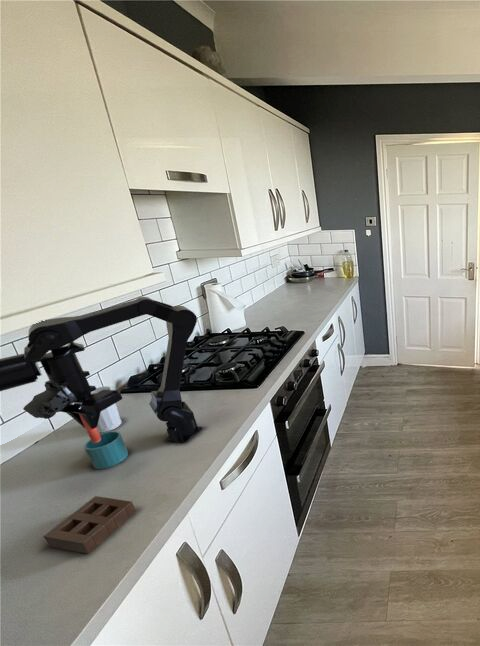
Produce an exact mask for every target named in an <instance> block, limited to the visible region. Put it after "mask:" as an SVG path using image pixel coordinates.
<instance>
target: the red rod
mask: <svg viewBox="0 0 480 646" xmlns="http://www.w3.org/2000/svg"><path fill="white" fill-rule="evenodd" d="M79 416H80V418H81V420H82V422H83V424H84V426H85V428H84V429H85V430H86V433H87V434H88V435H87V436H88V438H89V440H91V441H92V442H93V443H98V442H100V441H101V436H100V434H101V433H99V432H98V430H97V428H94V429H91V428H90V426H89V425H88V424H87V422H86V421H85V419H84V418H83V416H82V415H81V414H79Z"/></svg>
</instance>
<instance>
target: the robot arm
mask: <svg viewBox="0 0 480 646" xmlns="http://www.w3.org/2000/svg"><path fill="white" fill-rule="evenodd" d="M145 315H147V316H149V317H150V316H151V317H154V318H157V319H158V320H161V321H164V322H165V325H166V331H167V336H168V339H167V346H166V352H165V359H164V365H163V372H162V377H161V384H160V387H159V388H158V390H151V393H150V394H151V396H150V397H151V398H150V401H149V403H148V404H149V406H150V408H151V410H152V411H153V413H154V414H155V416H156V418H157V419H158V420H159V421H160V422H163V423H164V422H165V425H166V433H167V435H168V437H167V438H166V440H167V442H168V441H169V442H176V443H177V442H178V443H187V442H188V441H190V440H191V439H192V438H194V437H195V436H196V435H197V434H198V433H200V432H201V431H202V430H203V427H202V426H198V424H197V420H196V418H195V414H194V412H193V410H192V409H191V408H190V406H189V405H188V404H187V403H186V401H183V400H182V395H181V388H180V387H181V382H182V375H183V371H184V364H185V363H184V362H185V357H186V350H187V345H188V340H189V339H190V337H191V336H192V334H193V333H194V331H195V328H196V325H197V322H198V316H197V315H196V314H195V312H194V311H192V310H191V309H189V308H188V307H186V306H184V305H171V304H168V303H166V302H162V301H158V300H155V299H152V298H150V297H148V296H140V297H137V298H136V299H133V300H129V301H126V302H123V303H118V304H115V305H112V306H108V307H105V308H101V309H98V310H94V311H92V312H88V313H85V314H82V315H74V316H61V317H56V318H48V319H42V320H40V321H41V322H39V321H38V322H39V323H36V322H35V323H36V324H34V323H32V324H31V326H30V327H29V329H28V335H27V337H28V338H27V339H28V343H27V345H26V346H25V347H24V350H23V353H20V354H16V355H11V356H7V357H2V358H0V392H4V391H8V390H11V389H14V388H17V387H22V386H26V385H29V384H32V383H35V382H37V381H38V379H39V378H38V377H40V376H41V377H42V375H43V374H42V371H41V368H40V366H39V364H38V363H40V364H41V366H42V368H43V371H44V372H45V374H46V376H47V378H48V380H47V381H45V382H44V387H45V388H44V389H45V390H44V391H42V392H40V393H37V394H35V395H34V396H33V398H32V399H31V400H30V401H29V402H28V403H27V404H25V405H24V407H23V409H22V410H24V411H25V413H27V414H29V415H30V416H32V417H33V418H35V419H44V420H49V419H51V418H53V417H54V416H56V414H57V413H66V414H67V415H68V416H69V417H71V418H72V419H73V420H74V421H75V422H77V423H78V424H79V425H80V426H81V427H82V428H84V429H86V428H85V426H84V424H83V422H82V420H81V418H80V416H79V414H81V415H82V416H83V418H84V419H85V421H86V422H87V424H88V425H89V426H90V428H91V429H94V428H96V427H97V425H98V421H99V417H100V413H101V411H103V410H104V409H106V408H108V407H110V406H111V405H113V404H115V403H116V404H117V403H118V402H120V401H121V400H123V396H122V394H121V391H120V390H119V391H118V390H114V389H112V390H101V391H100V392H98V393H93V394H91V392H92V391H94V390H96V388H97V387H96V385H90V383H89V381H88V378H87V377H88V376H90V375H91V373H90V371H89V370H84V369H83V367H82V365H81V362H80V361H79V358H78V356H77V353H80V352H84V351H85V349H86V348H85V346H84V344H82V343H78V342H75V341H77V340H78V339H80V338H81V337H83V336H85V335H87V334H89V333H92V332H95V331H98V330H101V329H104V328H107V327H110V326H113V325H117V324H120V323H123V322H126V321H131V320H133V319H136V318H139V317H142V316H145ZM43 320H45V321H43Z"/></svg>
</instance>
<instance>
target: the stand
mask: <svg viewBox="0 0 480 646" xmlns="http://www.w3.org/2000/svg"><path fill="white" fill-rule="evenodd" d="M136 512H137V510H136V508H135V505H134V504H133V501H131V500H124V499H118V498H111V497H105V496H99V495H95V496H93V497H92V498H90V500H88V501H87V502H86V503H84V504H83V505H82V506H81V507H79V508H78V509H77V510H76V511H74V512H72V514H70V515H68V517H67V518H65V519H63V520H62V521H61V522H60V523H58V524H57V525H55V526H54V527H53V528H52V529H51V530H49V531H48V532H47V533H44V535H43V538H44V540H45V542H46V543H47V545H48V546H49V547H50V548H56V549H61V550H66V551H71V552H75V553H80V554H81V553H82V554H87V555H89V554H90V553H92V552H93V551H94V550H95V549H97V547H99V545H101V543H103V542H104V541H105V540H106V539H108V537H109V536H111V534H113V533H114V532H115V531H116V530H117V529H118V528H119V527H121V526H122V524H124V523H125V522H126V521H127V520H129V518H130V517H132V516H133V515H134V514H135V513H136Z"/></svg>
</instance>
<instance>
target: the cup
mask: <svg viewBox="0 0 480 646" xmlns="http://www.w3.org/2000/svg"><path fill="white" fill-rule="evenodd" d="M101 390H113V389H112V387H111V386H109V385H108V386H107V385H104V386H98V387H96V390H94V391H92V392H91V394H93V393H98V392H100V391H101ZM121 424H122V419H121V417H120V414H119V410H118V406H117V403H115V404H113V405H111V406H110V407H108V408H106V409H104V410H103V411H101V413H100V417H99V421H98V425H97V427H96V428H97V430H98V432H99V434H103V433H107V432H111V431H113V430H114V429H116V428H118V427H119V426H121Z"/></svg>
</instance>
